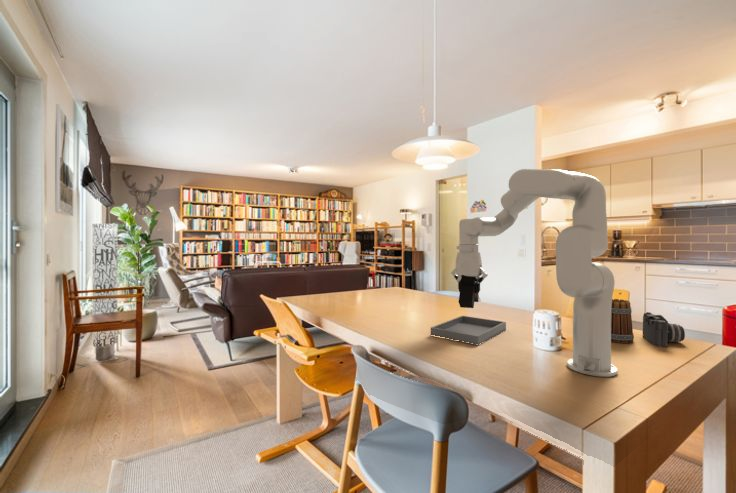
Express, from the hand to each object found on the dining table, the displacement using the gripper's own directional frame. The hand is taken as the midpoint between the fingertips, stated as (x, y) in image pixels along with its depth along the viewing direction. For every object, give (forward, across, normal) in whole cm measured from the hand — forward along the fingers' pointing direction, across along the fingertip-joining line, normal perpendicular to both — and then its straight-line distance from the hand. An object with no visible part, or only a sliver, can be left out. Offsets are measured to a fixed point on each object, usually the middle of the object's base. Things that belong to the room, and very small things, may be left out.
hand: (469, 291), depth 142 cm
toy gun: (+6, 0, 0) cm, 6 cm away
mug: (+17, +45, +25) cm, 54 cm away
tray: (+17, 0, 0) cm, 17 cm away
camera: (+18, +61, +34) cm, 72 cm away
